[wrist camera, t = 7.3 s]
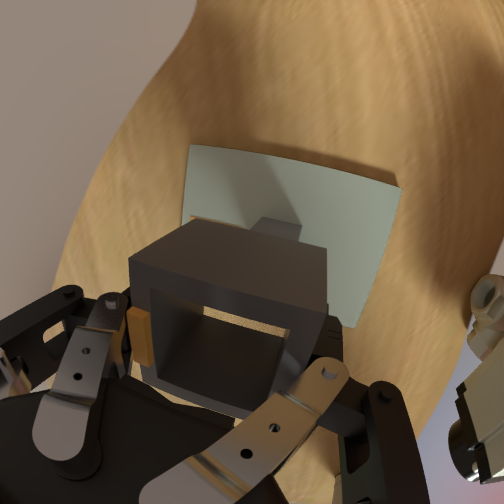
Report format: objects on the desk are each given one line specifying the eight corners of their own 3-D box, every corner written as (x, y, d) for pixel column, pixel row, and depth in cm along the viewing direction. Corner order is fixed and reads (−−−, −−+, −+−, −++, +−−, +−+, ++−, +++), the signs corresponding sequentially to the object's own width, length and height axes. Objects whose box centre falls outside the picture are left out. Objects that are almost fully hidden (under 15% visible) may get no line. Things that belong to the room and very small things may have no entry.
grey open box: (326, 248, 11) (326, 322, 6) (294, 352, 14) (275, 436, 9) (195, 217, 12) (120, 262, 7) (189, 321, 15) (138, 387, 10)
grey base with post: (398, 187, 18) (433, 204, 11) (353, 322, 22) (358, 379, 16) (195, 144, 20) (143, 144, 14) (183, 276, 25) (141, 316, 19)
